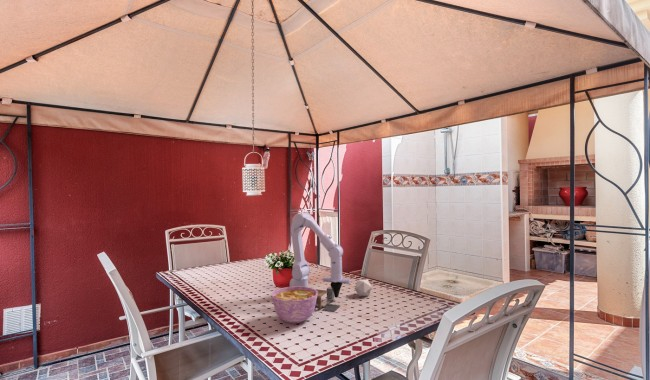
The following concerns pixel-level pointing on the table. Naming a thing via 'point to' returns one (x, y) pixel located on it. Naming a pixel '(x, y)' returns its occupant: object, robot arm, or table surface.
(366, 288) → the die
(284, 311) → the bowl of food
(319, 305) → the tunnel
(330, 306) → the dark grey plate
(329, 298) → the hook
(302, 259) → the robot arm
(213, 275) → the table surface
